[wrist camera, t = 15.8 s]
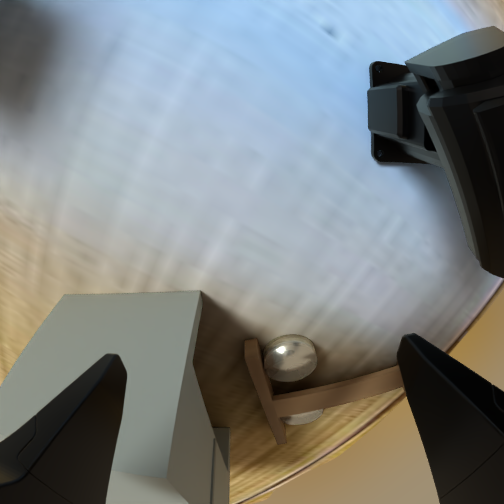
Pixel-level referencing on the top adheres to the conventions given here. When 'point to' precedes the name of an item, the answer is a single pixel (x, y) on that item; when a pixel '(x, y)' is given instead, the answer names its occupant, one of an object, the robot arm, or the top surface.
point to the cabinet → (131, 391)
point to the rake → (312, 391)
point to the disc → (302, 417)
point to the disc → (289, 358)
